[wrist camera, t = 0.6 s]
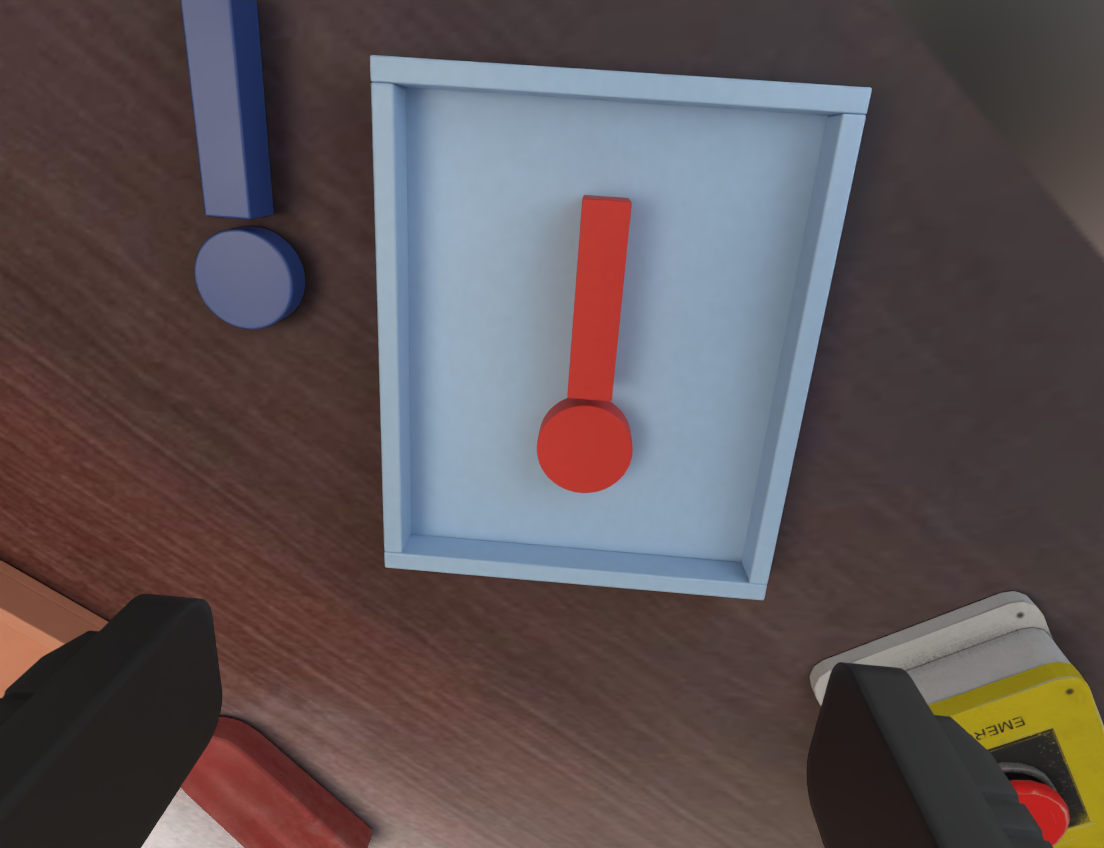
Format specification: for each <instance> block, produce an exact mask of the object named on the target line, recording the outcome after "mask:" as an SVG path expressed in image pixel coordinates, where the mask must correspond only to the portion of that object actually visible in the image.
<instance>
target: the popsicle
mask: <svg viewBox="0 0 1104 848" xmlns="http://www.w3.org/2000/svg"><path fill="white" fill-rule="evenodd" d="M181 788H182V789H183V790H184V791H185V793H186V794H187V795H188V796H189V797H191V798H192V799H193V800H194V801H195V802H196V803H197V804H198V805H199V806H200V807H201V808H202V809H203V810H204V811H206V812H207V813H208V814H209V815H210V816H211V817H212V818H213V819H214V820H215V821H216V822H217V823H219V824H220V825H221V826H222V827H223V828H224V829H225V830H226V831H227V832H228V833H229V834H230V835H232V836H233V837H234V838H235V839H236V840H237V841H238V842H239V843H240V844H241V845H242V846H243V847H244V848H368V845H369V842H370V839H371V835H372V831H371V829H370V828H369V827H368V826H367V825H366V824H365V823H364V822H363V821H362V820H360V819H359V818H358V817H357V816H356V815H354V814H353V813H352V812H351V811H350V810H349V809H348V808H346V807H345V806H344V805H343V804H342V803H340V802H339V801H338V800H337V799H336V798H335V797H334V796H332V795H331V794H330V793H329V792H328V791H327V790H325V789H324V788H323V787H322V786H321V785H320V784H318V783H317V782H316V781H315V780H314V779H313V778H312V777H310V776H309V775H308V774H307V773H306V772H305V771H303V770H302V769H301V768H300V767H299V766H298V765H297V764H295V763H294V762H293V761H292V760H291V759H290V758H288V757H287V756H286V755H285V754H284V753H283V752H282V751H280V750H279V749H278V748H277V747H276V746H275V745H273V744H272V743H271V742H270V741H269V740H268V739H266V738H265V737H264V736H263V735H262V734H261V733H259V732H258V731H256V730H255V729H254V728H252V727H251V726H249V725H247V724H245V723H243V722H242V721H239V720H236V719H233V718H227V717H219V720H218V723H217V726H216V729H215V732H214V734H213V736H212V738H211V740H210V742H209V744H208V746H207V747H206V749H205V750H204V752H203V753H202V755H201V756H200V758H199V760H198V761H197V763H196V764H195V766H194V767H193V769H192V770H191V772H190V773H189V775H188V776H187V778H186V779H185V781H184V782H183V784H182V786H181Z"/></svg>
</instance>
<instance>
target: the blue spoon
mask: <svg viewBox="0 0 1104 848" xmlns="http://www.w3.org/2000/svg"><path fill="white" fill-rule="evenodd" d="M181 7H182V16H183V25H184V33H185V42H186V51H187V60H188V68H189V77H190V86H191V94H192V103H193V112H194V120H195V129H196V138H197V147H198V155H199V164H200V173H201V181H202V190H203V199H204V207H205V215H206V216H209V217H222V218H236V219H254V218H260V217H265V216H270V215H273V214H274V210H273V198H272V185H271V173H270V160H269V148H268V135H267V123H266V110H265V98H264V85H263V73H262V60H261V48H260V35H259V23H258V10H257V2H256V0H181ZM195 280H196V285H197V288H198V291H199V293H200V295H201V297H202V299H203V301H204V302H205V304H206V305H207V306H208V308H209V309H210V310H211V311H212V312H213V313H214V314H215V315H216V316H217V317H219V318H220V319H222V320H223V321H225V322H227V323H228V324H230V325H233V326H235V327H239V328H242V329H251V330H256V329H262V328H266V327H269V326H271V325H273V324H275V323H277V322H279V321H281V320H283V319H285V318H286V317H288V316H289V315H291V314H292V313H293V312H294V311H295V310H296V309H297V307H298V306H299V304H300V303H301V300H302V298H303V295H304V291H305V274H304V269H303V266H302V263H301V261H300V259H299V257H298V255H297V253H296V252H295V250H294V249H293V248H292V247H291V245H290V244H289V243H288V242H287V241H286V240H285V239H284V238H282V237H281V236H279V235H278V234H276V233H275V232H273V231H271V230H268V229H266V228H262V227H257V226H243V227H237V228H232V229H227V230H224V231H220V232H218V233H216V234H214V235H213V236H211V237H210V238H209V239H208V240H207V241H205V243H204V244H203V245H202V247H201V248H200V250H199V252H198V255H197V258H196V262H195Z"/></svg>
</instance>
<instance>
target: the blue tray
mask: <svg viewBox="0 0 1104 848" xmlns="http://www.w3.org/2000/svg"><path fill="white" fill-rule="evenodd" d="M370 76H371V81H372V84H371V103H372V138H373V172H374V207H375V242H376V277H377V311H378V346H379V381H380V415H381V450H382V485H383V520H384V550H385V553H384V556H385V567H387V568H398V569H410V570H421V571H433V572H444V573H456V574H467V575H479V576H490V577H502V578H513V579H524V580H536V581H547V582H559V583H570V584H582V585H593V586H605V587H616V588H628V589H639V590H651V591H662V592H674V593H685V594H697V595H708V596H719V597H731V598H742V599H754V600H764V598H765V593H766V588H767V585H766V584H767V583H768V579H769V574H770V569H771V564H772V560H773V555H774V550H775V545H776V541H777V536H778V531H779V526H780V522H781V517H782V512H783V507H784V503H785V498H786V493H787V488H788V484H789V479H790V474H791V469H792V465H793V460H794V455H795V450H796V446H797V441H798V436H799V431H800V427H801V422H802V417H803V413H804V408H805V403H806V398H807V394H808V389H809V384H810V379H811V375H812V370H813V365H814V360H815V356H816V351H817V346H818V341H819V337H820V332H821V327H822V322H823V318H824V313H825V308H826V303H827V299H828V294H829V289H830V284H831V280H832V275H833V270H834V265H835V261H836V256H837V251H838V246H839V242H840V237H841V232H842V228H843V223H844V218H845V213H846V209H847V204H848V199H849V194H850V190H851V185H852V180H853V175H854V171H855V166H856V161H857V156H858V152H859V147H860V142H861V137H862V133H863V128H864V123H865V118H866V117H865V115H864V114H866V113H867V110H868V105H869V100H870V96H871V91H872V89H871V88H870V87H855V86H839V85H824V84H809V83H793V82H778V81H763V80H747V79H732V78H717V77H701V76H686V75H671V74H655V73H640V72H625V71H609V70H594V69H579V68H563V67H548V66H533V65H517V64H502V63H487V62H471V61H456V60H441V59H426V58H410V57H395V56H380V55H371V56H370ZM584 195H593V196H607V197H621V198H629V199H630V201H631V202H632V207H631V217H630V227H629V237H628V247H627V257H626V266H625V276H624V286H623V296H622V306H621V316H620V325H619V335H618V345H617V355H616V365H615V375H614V385H613V394H612V401H610V402H611V403H613V404H614V405H615V406H617V407H618V408H619V409H620V410H621V411H622V413H623V414H624V415H625V417H626V419H627V421H628V423H629V426H630V430H631V437H632V445H633V454H632V460H631V463H630V465H629V467H628V469H627V471H626V472H625V474H624V475H623V476H622V478H621V479H620V480H619V481H617V482H616V483H615V484H613V485H612V486H610V487H608V488H606V489H604V490H601V491H598V492H593V493H577V492H572V491H569V490H566V489H564V488H562V487H560V486H558V485H557V484H555V483H554V482H553V481H551V480H550V479H549V478H548V477H547V475H546V474H545V473H544V471H543V470H542V468H541V466H540V464H539V460H538V457H537V440H538V435H539V430H540V426H541V423H542V421H543V419H544V417H545V415H546V414H547V412H548V411H549V410H550V409H551V408H552V407H553V406H554V405H556V404H557V403H558V402H560V401H562V400H564V399H566V398H568V397H567V392H568V379H569V366H570V353H571V340H572V327H573V313H574V300H575V287H576V274H577V261H578V248H579V235H580V222H581V209H582V199H583V196H584Z"/></svg>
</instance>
